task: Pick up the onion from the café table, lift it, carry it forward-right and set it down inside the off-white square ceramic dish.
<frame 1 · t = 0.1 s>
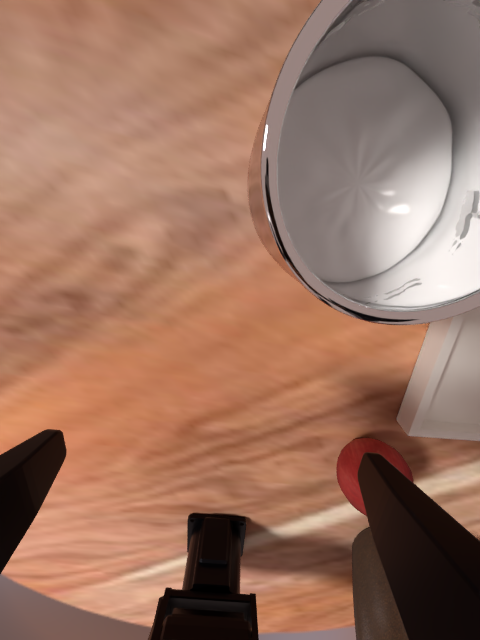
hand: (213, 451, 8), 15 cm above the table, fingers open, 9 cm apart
plant pot: (384, 541, 32), on the table
onion: (355, 440, 27), on the table
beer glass: (296, 199, 19), on the table
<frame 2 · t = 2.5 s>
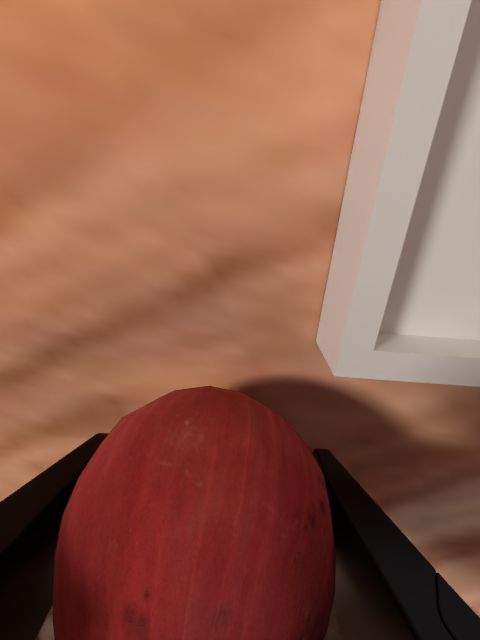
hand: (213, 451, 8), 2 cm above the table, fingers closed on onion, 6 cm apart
plant pot: (327, 628, 16), on the table
onion: (219, 406, 10), on the table, touching gripper
when the fingers open (4 cm above the table, at t = 6.2 s): onion drops 1 cm, resting on dish.
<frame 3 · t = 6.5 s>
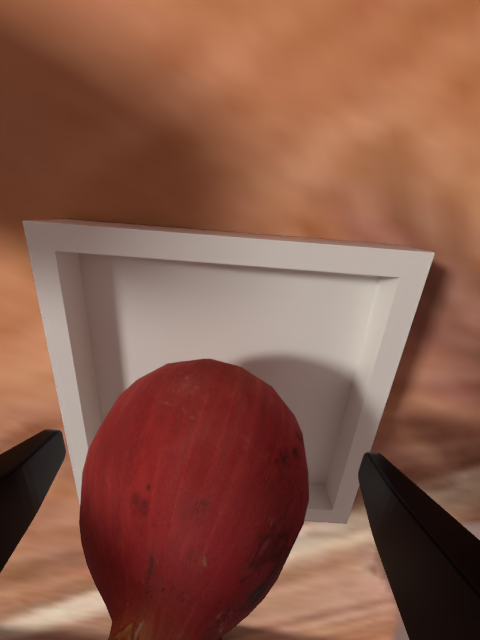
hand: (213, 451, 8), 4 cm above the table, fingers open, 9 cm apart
onion: (222, 385, 11), point 1 cm above the table, touching dish
dish: (224, 375, 12), on the table
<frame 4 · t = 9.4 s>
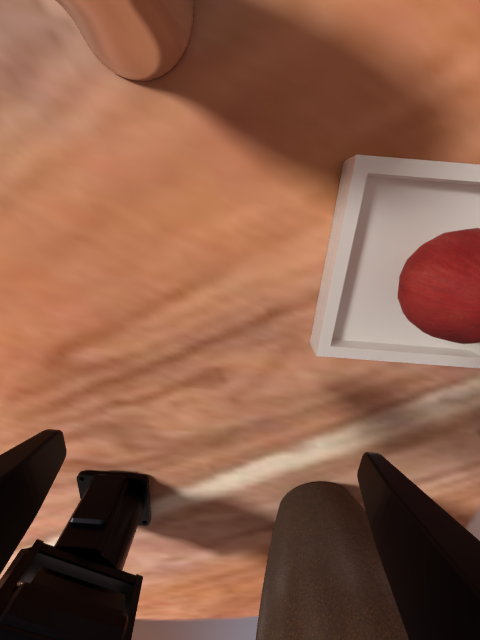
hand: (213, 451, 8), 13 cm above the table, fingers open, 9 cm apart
plant pot: (317, 505, 27), on the table
onion: (418, 272, 18), point 1 cm above the table, touching dish
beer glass: (136, 10, 14), on the table
dish: (413, 269, 19), on the table
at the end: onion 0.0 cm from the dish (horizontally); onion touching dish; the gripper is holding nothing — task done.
